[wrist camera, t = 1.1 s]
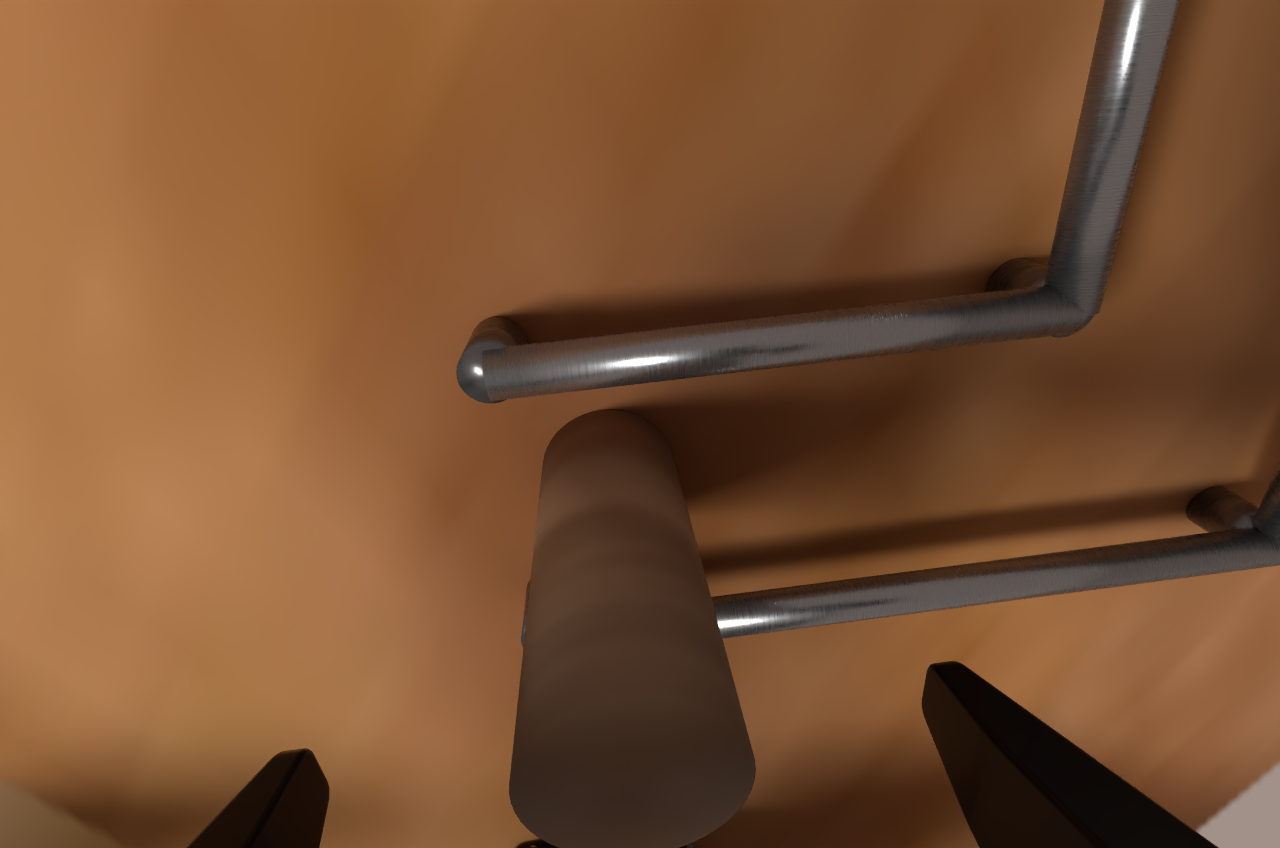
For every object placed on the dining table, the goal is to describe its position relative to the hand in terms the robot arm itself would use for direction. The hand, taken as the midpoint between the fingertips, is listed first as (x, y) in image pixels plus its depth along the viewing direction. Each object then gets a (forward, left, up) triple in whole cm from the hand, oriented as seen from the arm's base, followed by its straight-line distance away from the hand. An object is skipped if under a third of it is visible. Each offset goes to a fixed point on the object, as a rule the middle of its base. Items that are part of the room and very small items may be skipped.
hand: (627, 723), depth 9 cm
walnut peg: (0, 0, -7) cm, 7 cm away
